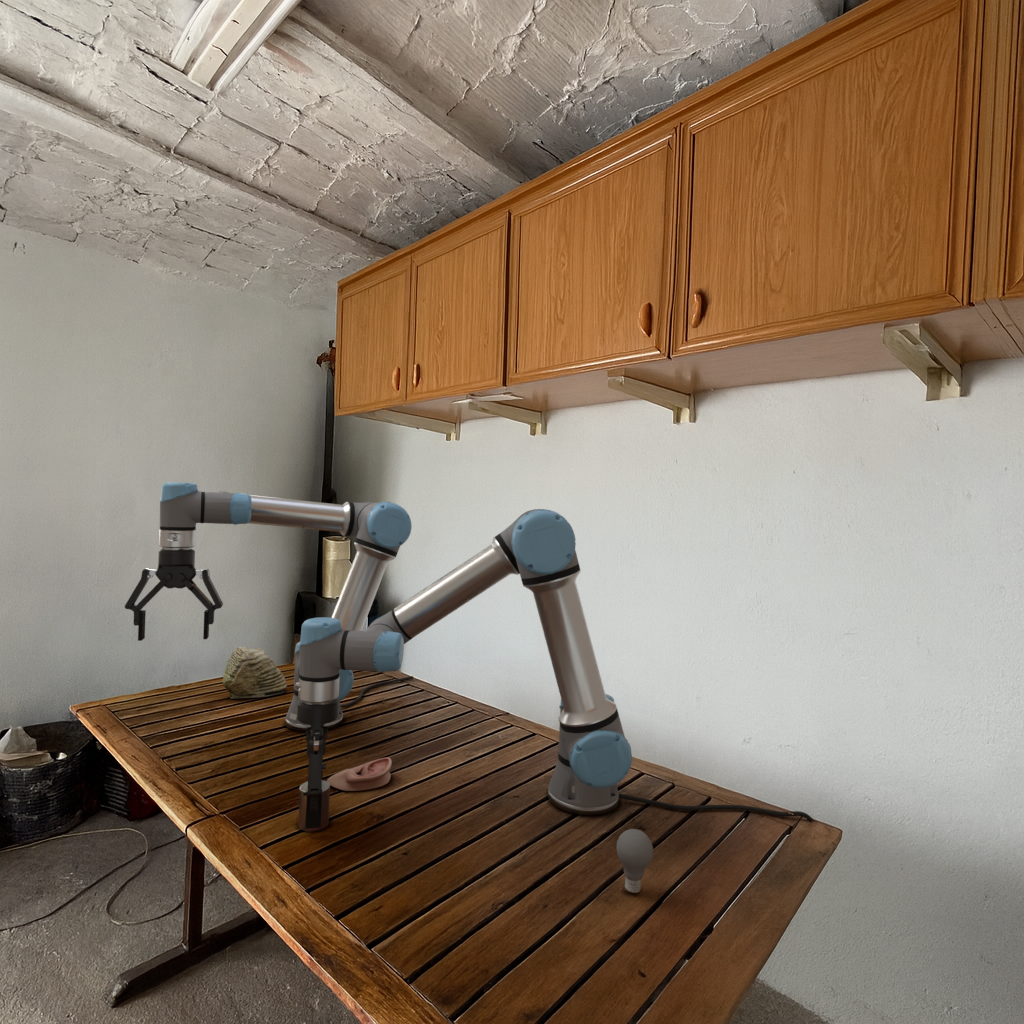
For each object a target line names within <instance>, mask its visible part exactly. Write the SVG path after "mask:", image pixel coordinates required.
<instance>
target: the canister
mask: <svg viewBox="0 0 1024 1024" xmlns="http://www.w3.org/2000/svg"><path fill="white" fill-rule="evenodd" d="M321 789H322V806H321V827H319V828H309V829H306V803H307V796H303V792H307V790H308V781H305V782H303V783H302V784H301V785H300V786H299V791H298V793H299V794H298V795H299V796H298V819H297V820H298V821H297V822H298V823H297V826H298V828H299V830H301V831H303V832H311V833H313V832H318V831H321V830H323V829H325V828H327V827H328V825H329V823H330V801H331V800H330V799H331V785H330V783H329V782H327V780H323V779H322V787H321Z"/></svg>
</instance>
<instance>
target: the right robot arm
mask: <svg viewBox="0 0 1024 1024" xmlns="http://www.w3.org/2000/svg"><path fill="white" fill-rule="evenodd" d="M491 542H492V543H491V544H490V545H488V546H487V547H485V548H484V549H482V550H480V551H479V552H477V553H476V554H475V555H473V556H472V557H470V558H468V559H467V560H465V561H464V562H463V563H461V564H459V565H458V566H456V567H455V568H453V569H452V570H450V571H449V572H447V573H446V574H444V575H442V576H441V577H439V578H438V579H436V580H435V581H433V582H432V583H431V584H429V585H428V586H426V587H425V588H423V589H421V590H419V592H417V593H415V594H414V595H413V596H411V597H410V598H408V599H406V600H405V601H403V602H402V603H400V604H399V605H397V606H395V607H394V608H393V609H391V610H389V611H388V612H387V613H385V614H383V615H382V616H379V617H377V618H376V619H374V620H372V622H370V624H369V625H368V627H367V628H366V629H365V630H362V631H350V630H342V626H341V621H340V620H338V619H336V618H331V617H327V616H324V617H323V616H322V617H321V616H320V617H313V618H308V619H306V620H304V622H303V623H302V624H301V628H300V629H301V630H300V640H299V642H300V643H299V645H300V661H299V682H298V683H296V684H295V687H297V688H299V692H298V698H299V699H300V700H299V702H298V711H297V719H298V721H299V722H301V723H303V724H309V725H311V727H307V732H305V741H306V755H307V756H308V771H307V773H308V774H307V782H308V790H307V792H303V796H307V803H306V829H309V828H319V827H321V806H322V789H321V787H322V780H323V778H324V777H323V776H324V772H323V770H327V764H326V763H323V762H324V755H326V752H327V751H326V749H327V740H328V735H329V734H328V732H329V730H328V726H324V724H326V723H330V722H333V721H334V720H336V718H337V717H338V700H337V697H338V696H339V679H340V676H339V670H353V671H359V672H361V671H362V672H363V671H364V672H378V673H385V672H397V671H399V670H400V669H401V668H402V665H403V660H404V659H403V658H404V647H405V644H407V643H408V642H409V641H411V640H412V639H414V638H415V637H416V636H418V635H420V634H421V633H423V632H425V631H426V630H428V629H429V628H431V627H432V626H433V625H435V624H437V623H439V622H440V621H441V620H443V619H444V618H446V617H447V616H448V615H451V614H452V613H453V612H455V611H456V610H458V609H459V608H461V607H463V606H464V605H466V604H467V603H469V602H470V601H472V600H474V599H475V598H477V597H478V596H479V595H481V594H483V593H484V592H486V591H487V590H489V589H491V588H492V587H493V586H495V585H496V584H497V583H499V582H501V581H502V580H504V579H506V578H507V577H508V576H510V575H516V576H518V575H519V576H520V580H521V583H522V586H523V587H524V588H526V589H527V590H529V591H530V592H532V594H533V599H534V602H535V607H536V609H537V613H538V617H539V621H540V625H541V628H542V633H543V635H544V636H543V637H544V639H545V644H546V647H547V652H548V655H549V658H550V659H549V660H550V662H551V665H552V666H551V667H552V669H553V674H554V677H555V682H556V684H557V689H558V692H559V696H560V704H559V708H558V709H559V716H558V722H559V729H558V752H557V753H558V755H557V762H556V764H555V768H554V770H553V773H552V776H551V778H550V781H549V782H548V783H549V784H548V788H547V798H548V800H549V802H550V803H551V804H552V805H553V806H555V807H556V808H558V809H560V810H562V811H564V812H567V813H570V814H574V815H581V816H599V815H604V814H608V813H610V812H613V810H616V809H617V807H618V806H619V799H622V800H627V801H631V802H637V803H642V804H647V805H651V806H657V807H661V808H666V809H672V810H679V811H688V812H691V811H693V812H694V811H709V810H711V811H712V810H736V811H737V810H739V811H750V812H755V813H761V814H765V815H771V816H775V817H776V816H777V817H802V818H804V819H806V818H807V819H806V820H807V821H808V822H811V823H813V822H812V821H814V822H815V820H814V818H812V816H811V815H809V814H808V813H806V812H803V811H799V810H795V811H794V810H793V811H778V810H773V809H768V808H764V807H763V808H762V807H756V806H751V805H750V806H749V805H741V804H740V805H739V804H704V805H703V804H702V805H681V804H673V803H668V802H665V801H664V802H663V801H658V800H654V799H648V798H645V797H644V798H643V797H638V796H634V795H628V794H622V793H620V792H619V789H618V786H617V784H619V783H620V782H621V781H623V780H624V779H625V778H626V776H627V775H628V773H629V772H630V770H631V767H632V763H633V753H632V747H631V744H630V743H629V740H628V739H627V738H626V736H625V733H624V729H623V725H622V722H621V718H620V714H619V711H618V706H617V703H615V699H614V698H613V696H612V695H610V694H607V693H606V691H605V688H604V683H603V680H602V677H601V673H600V672H601V671H600V668H599V665H598V661H597V657H596V654H595V650H594V646H593V643H592V639H591V635H590V631H589V628H588V624H587V620H586V616H585V612H584V607H583V605H582V601H581V597H580V593H579V589H578V585H577V583H576V581H577V578H578V577H579V576H580V575H579V574H581V571H582V570H581V567H580V563H579V559H578V554H577V551H576V545H577V543H576V535H575V532H574V529H573V527H572V525H571V524H570V523H569V521H568V520H567V519H566V518H565V517H564V516H563V515H561V514H560V513H559V512H557V511H554V510H551V509H546V508H545V509H544V508H537V509H535V508H534V509H531V510H528V511H525V512H524V513H522V514H521V515H519V516H518V517H517V518H516V519H515V520H514V521H513V522H512V523H511V524H510V525H509V526H507V527H506V528H505V529H503V530H502V531H501V532H499V533H498V534H497V535H495V536H493V538H492V541H491ZM788 812H790V813H793V814H796V815H792V814H789V813H788Z"/></svg>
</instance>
